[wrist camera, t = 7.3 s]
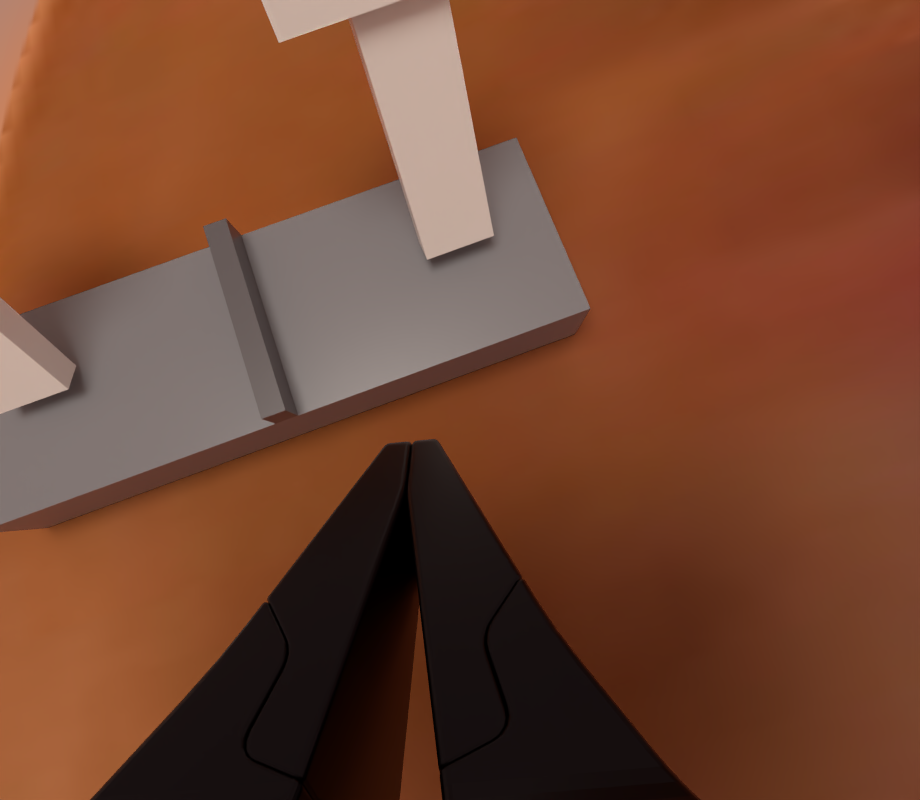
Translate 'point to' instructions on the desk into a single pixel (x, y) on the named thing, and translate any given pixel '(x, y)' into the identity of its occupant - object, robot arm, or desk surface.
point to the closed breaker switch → (28, 363)
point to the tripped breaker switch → (412, 107)
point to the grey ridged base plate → (278, 340)
